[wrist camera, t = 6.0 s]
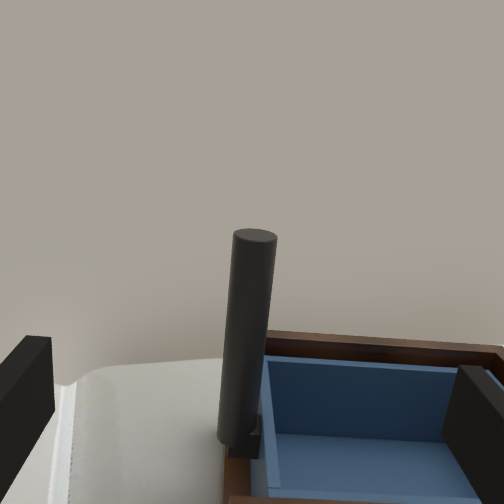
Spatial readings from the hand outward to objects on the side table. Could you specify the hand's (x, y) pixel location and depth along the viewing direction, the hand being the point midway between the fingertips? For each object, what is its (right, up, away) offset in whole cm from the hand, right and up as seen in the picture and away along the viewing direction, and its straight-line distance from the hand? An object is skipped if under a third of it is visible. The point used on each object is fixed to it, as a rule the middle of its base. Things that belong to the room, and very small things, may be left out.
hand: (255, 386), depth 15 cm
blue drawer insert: (+6, -10, +11) cm, 16 cm away
